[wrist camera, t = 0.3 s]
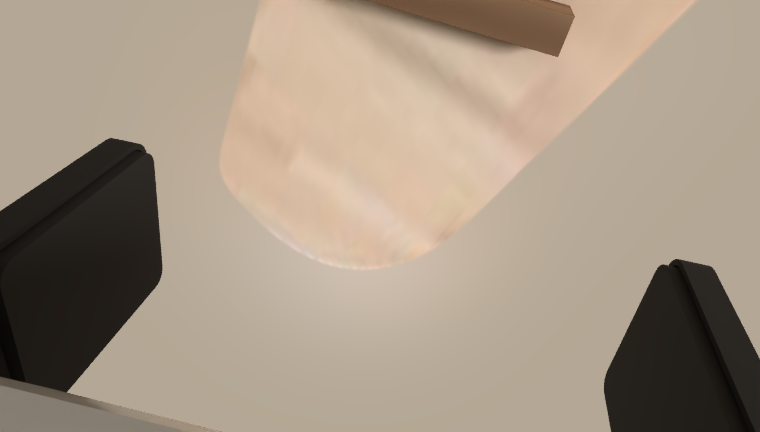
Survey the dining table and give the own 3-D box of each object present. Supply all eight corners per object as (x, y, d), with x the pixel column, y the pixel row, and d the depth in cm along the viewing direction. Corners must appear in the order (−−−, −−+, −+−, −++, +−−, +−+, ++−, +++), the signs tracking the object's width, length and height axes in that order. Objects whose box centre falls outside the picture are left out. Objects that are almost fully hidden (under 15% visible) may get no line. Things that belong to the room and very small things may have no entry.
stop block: (382, -50, 36) (372, -43, 34) (570, 6, 36) (574, 16, 33) (373, -10, 37) (363, -1, 35) (554, 44, 37) (557, 57, 34)
